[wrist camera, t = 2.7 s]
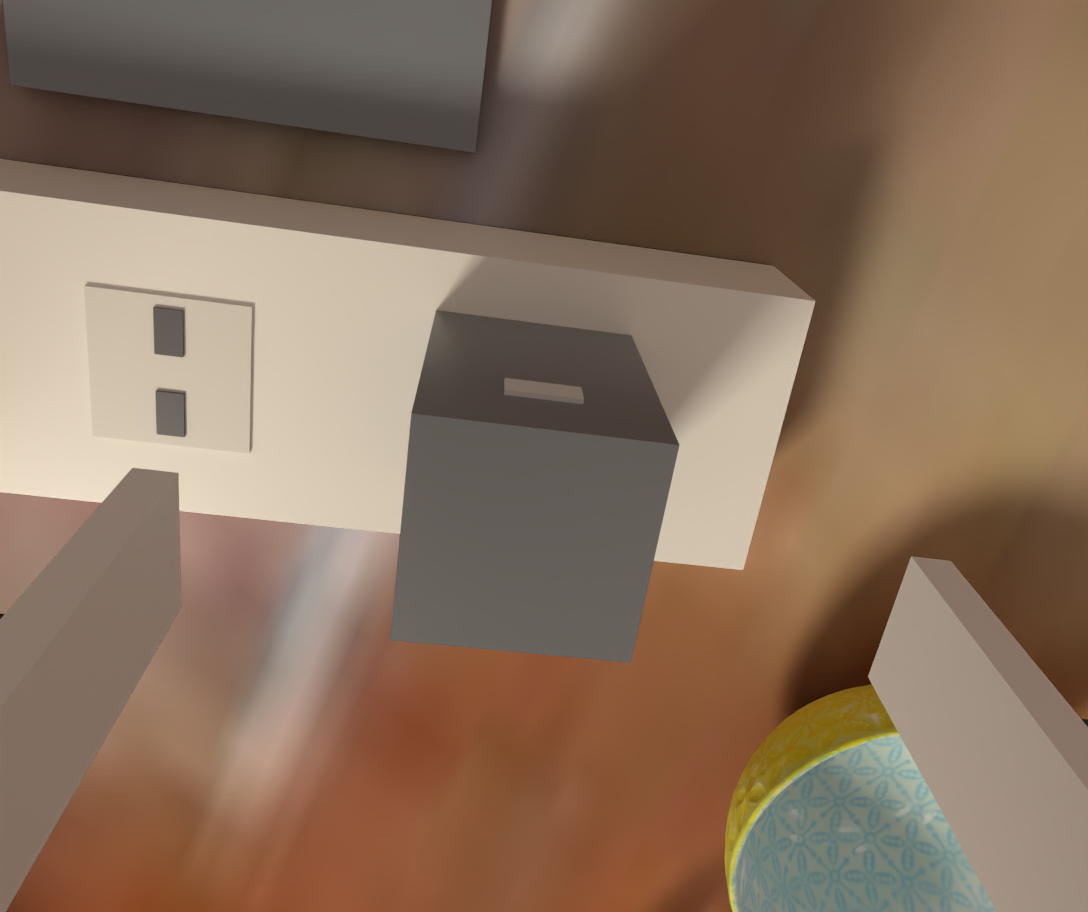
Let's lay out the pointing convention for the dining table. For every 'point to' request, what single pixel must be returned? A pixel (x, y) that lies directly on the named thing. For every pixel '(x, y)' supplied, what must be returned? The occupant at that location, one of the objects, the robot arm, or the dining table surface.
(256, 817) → the dining table surface
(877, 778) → the bowl
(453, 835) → the dining table surface
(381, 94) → the mat
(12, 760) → the robot arm
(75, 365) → the strip
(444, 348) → the charger
